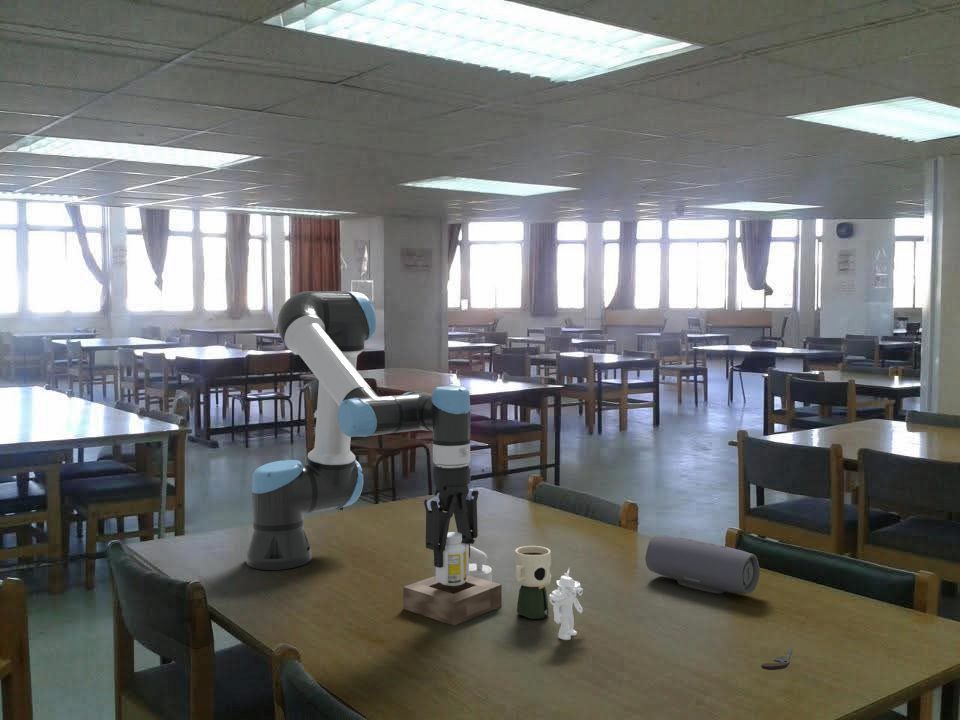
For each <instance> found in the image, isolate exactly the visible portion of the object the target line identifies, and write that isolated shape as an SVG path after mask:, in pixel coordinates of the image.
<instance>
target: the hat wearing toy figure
mask: <svg viewBox="0 0 960 720" xmlns="http://www.w3.org/2000/svg"><path fill="white" fill-rule="evenodd" d="M570 568H571V567H568V569H567V572H564V574H563V575H561V576H560V578H559V580H558V579H557V580H556V584H557V589H554V590H553V591H551V593H550V594H549V595H548V602H549V603H550V604H551V605H552V606H553V608H552V612H553V620H554V623H555V624H557V625H559V624H560V627H559V630H558V633H557V639H561V640H564V641H569V640H571V639H572V636H573V637H575V636H577V635H578V631H576V630H575V629H574V626H575V619H574V612H573V607H574V608H575V609H576V611H577V612H578V614H583V612H584V610H583V607H582V605H581V604H580V602H579V599H578V598H577V594H578V595H579V597H581V596H582V595H583V592H584V588H582V587H581V583H580V581H577V580H574V579H573V578H572V576H571V577H570ZM573 605H574V606H573Z"/></svg>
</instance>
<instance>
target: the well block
mask: <svg viewBox="0 0 960 720" xmlns="http://www.w3.org/2000/svg"><path fill="white" fill-rule="evenodd" d="M502 590H503V587H502V583H498V582H494V581H492V582H491V581H487V580H484V579H480V578H476V577H473V576H467V577H466V582H465V583H464V584H462V585H458V586H446V585H443V584H441V583H440V582H436V575H434V576H431V577H428V578H426V579H422V580H419V581H416V582H413V583H410V584H408V585H405V586H403V587H402V594H403V595H402V596H403V597H402V598H403V603H402V604H403V610H406V611H408V612H412V613H415V614H418V615H420V616H424V617H427V618H430V619H433V620H436V621H439V622H441V623H445V624H447V625H452V626H455V627H456V626H457V625H460V624H462V623H465V622H467V621H469V620H471V619H474V618H477V617H478V616H479V617H480V616H481V615H484V614H487V613H489V612H491V611H494V610H495V609H498V608H501V607H502V604H503V601H502V600H503V599H502V596H503V594H502V593H503V592H502Z"/></svg>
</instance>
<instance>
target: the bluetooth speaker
mask: <svg viewBox="0 0 960 720" xmlns="http://www.w3.org/2000/svg"><path fill="white" fill-rule="evenodd" d="M645 565H646V567H647V568H648V570H649V571H651V572H652V573H655V574H658V575H660V576H664V577H667V578H670V579H674V580H677V584H678V585H681V586H684V587H687V588H691V589H695V590H699V591H703V592H706V593H712V594H718V595H720V594H723V593H725V592H729V593H735V594H741V595H742V594H743V595H750V594H752V593H753V592H754V591H755V590H756V588H757V587H758V583H759V580H760V573H761V570H760V569H761V568H760V564H759V560H758V557H757V555H755V554H754V553H752V552H751V553H750V552H747V551H745V550H740V549H737V548H733V547H729V546H724V545H721V544H716V543H711V542H706V541H702V540H696V539H692V538H691V539H690V538H685V537H681V536H679V537H678V536H673V535H665V534H655V535H653V536H652V537H651V538H650V540H649V542H648V544H647V548H646V553H645Z"/></svg>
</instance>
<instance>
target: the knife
mask: <svg viewBox="0 0 960 720" xmlns="http://www.w3.org/2000/svg"><path fill="white" fill-rule="evenodd" d="M793 649H794V647H790V649H789V651H788V654H787V656H774V657H773V658H774V659H773V658H772V660H773V662H774V661H775V662H777V663H773V662H772V663H769V662H768V663H767V662H765V663H762V664H760V667H761V668H762V669H764V670H779V669H778V668H781V669H785V668H787V667H788V665H789V664H790V657H791V655H792V651H793ZM775 657H776V658H775ZM777 657H778V658H777ZM779 657H780V658H779ZM781 657H782V658H781ZM783 657H784V658H785V657H787V658H786V659H783ZM779 659H780V660H779ZM781 659H782V660H781ZM788 663H789V664H788ZM787 664H788V665H787ZM784 667H785V668H784Z"/></svg>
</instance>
